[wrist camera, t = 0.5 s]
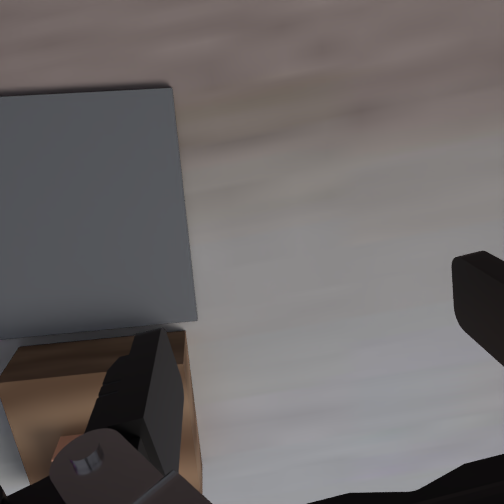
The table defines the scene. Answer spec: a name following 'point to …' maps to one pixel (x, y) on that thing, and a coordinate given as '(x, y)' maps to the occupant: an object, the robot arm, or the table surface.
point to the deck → (79, 398)
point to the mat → (92, 214)
